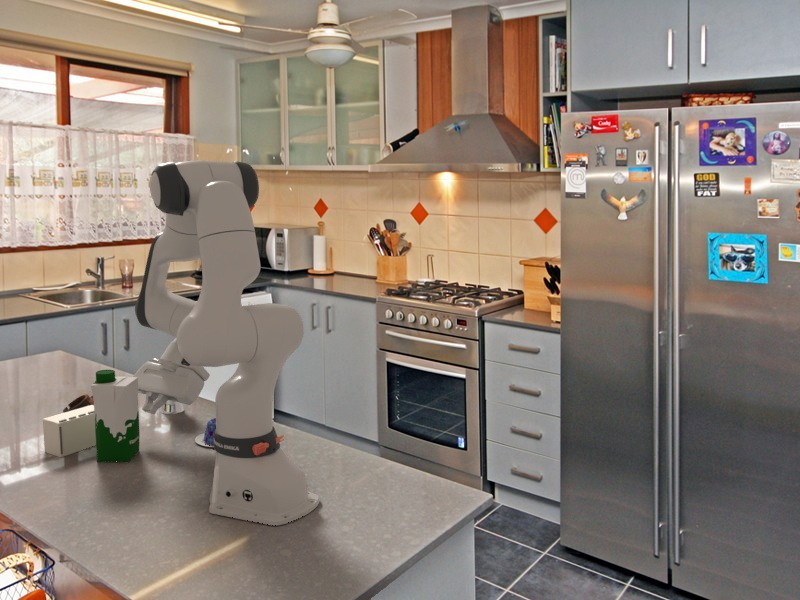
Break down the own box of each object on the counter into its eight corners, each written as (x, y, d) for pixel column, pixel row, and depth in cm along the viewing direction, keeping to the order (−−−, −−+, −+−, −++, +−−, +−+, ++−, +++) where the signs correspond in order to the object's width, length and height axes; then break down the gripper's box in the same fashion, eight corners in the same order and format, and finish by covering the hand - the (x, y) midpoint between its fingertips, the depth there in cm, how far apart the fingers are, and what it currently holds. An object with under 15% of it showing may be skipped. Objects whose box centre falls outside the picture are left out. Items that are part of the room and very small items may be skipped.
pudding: (205, 453, 174) (204, 432, 173) (188, 438, 184) (187, 417, 183) (253, 444, 180) (252, 423, 180) (234, 429, 190) (234, 410, 189)
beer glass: (154, 414, 201) (152, 360, 198) (166, 406, 207) (164, 354, 205) (178, 415, 199) (176, 361, 197) (190, 408, 206) (188, 355, 204)
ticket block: (110, 441, 180) (108, 408, 178) (61, 457, 169) (59, 422, 167) (93, 436, 183) (91, 403, 182) (44, 451, 172) (42, 417, 171)
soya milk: (106, 449, 174) (102, 366, 171) (145, 450, 174) (141, 367, 171) (91, 463, 166) (86, 376, 162) (131, 464, 166) (127, 377, 162)
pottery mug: (101, 430, 189) (82, 405, 186) (72, 443, 191) (52, 418, 188) (120, 404, 200) (102, 380, 197) (92, 417, 202) (74, 393, 199)
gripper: (142, 350, 186) (110, 398, 179) (200, 362, 175) (169, 412, 168) (157, 364, 190) (127, 411, 183) (215, 376, 180) (185, 426, 173)
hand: (147, 412), depth 176 cm, fingers closed
